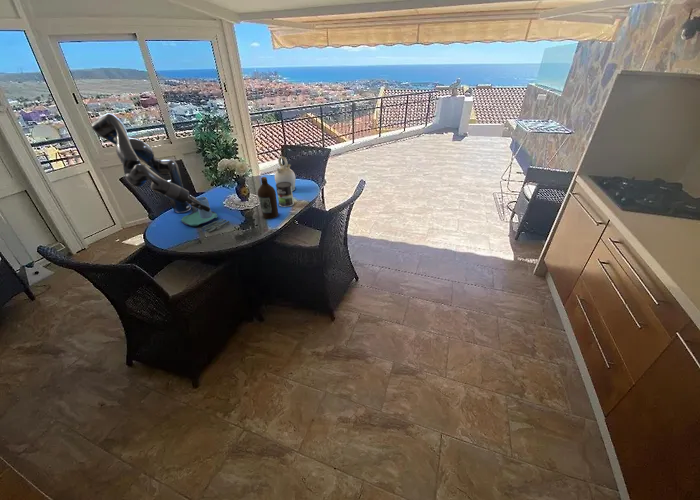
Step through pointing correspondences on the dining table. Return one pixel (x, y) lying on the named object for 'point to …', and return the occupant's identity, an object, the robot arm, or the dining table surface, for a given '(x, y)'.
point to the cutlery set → (201, 220)
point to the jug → (285, 173)
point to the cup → (202, 212)
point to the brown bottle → (267, 200)
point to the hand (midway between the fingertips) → (207, 208)
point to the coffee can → (285, 194)
